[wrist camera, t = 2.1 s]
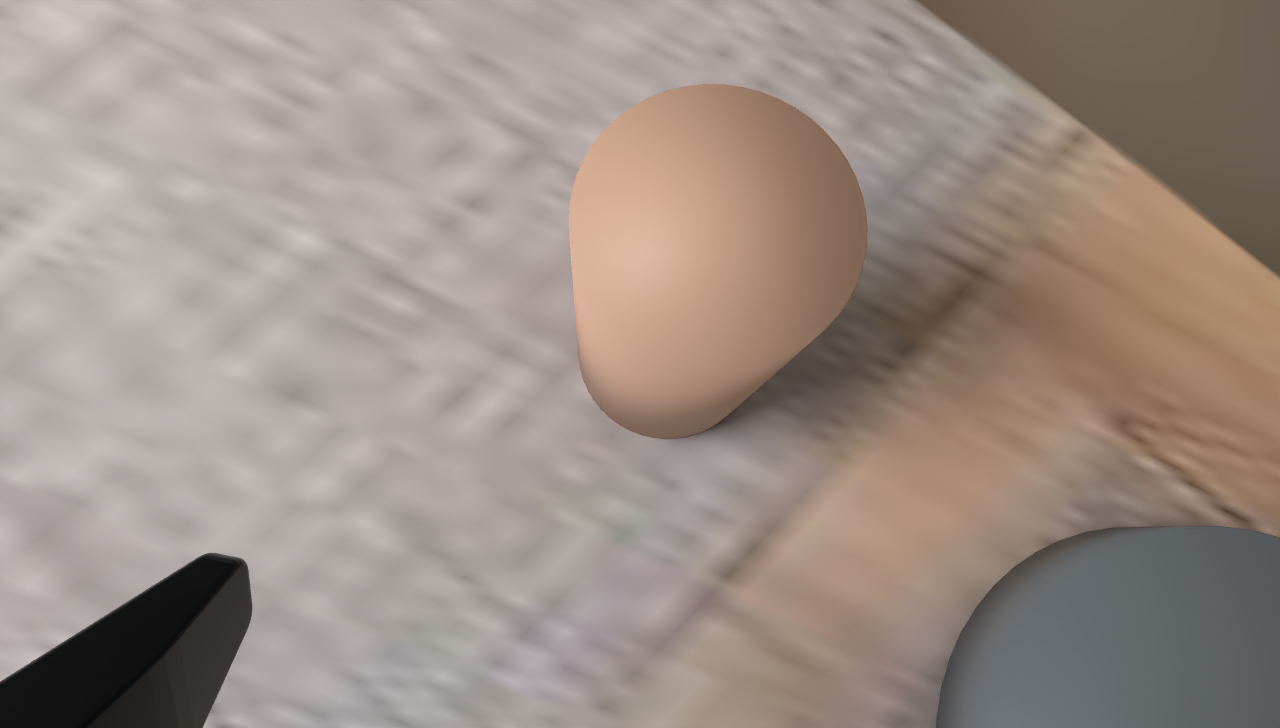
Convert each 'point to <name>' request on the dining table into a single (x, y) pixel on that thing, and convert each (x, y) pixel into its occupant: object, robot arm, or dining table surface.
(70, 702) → the robot arm
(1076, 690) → the pedestal
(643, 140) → the tan piece
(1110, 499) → the dining table surface
